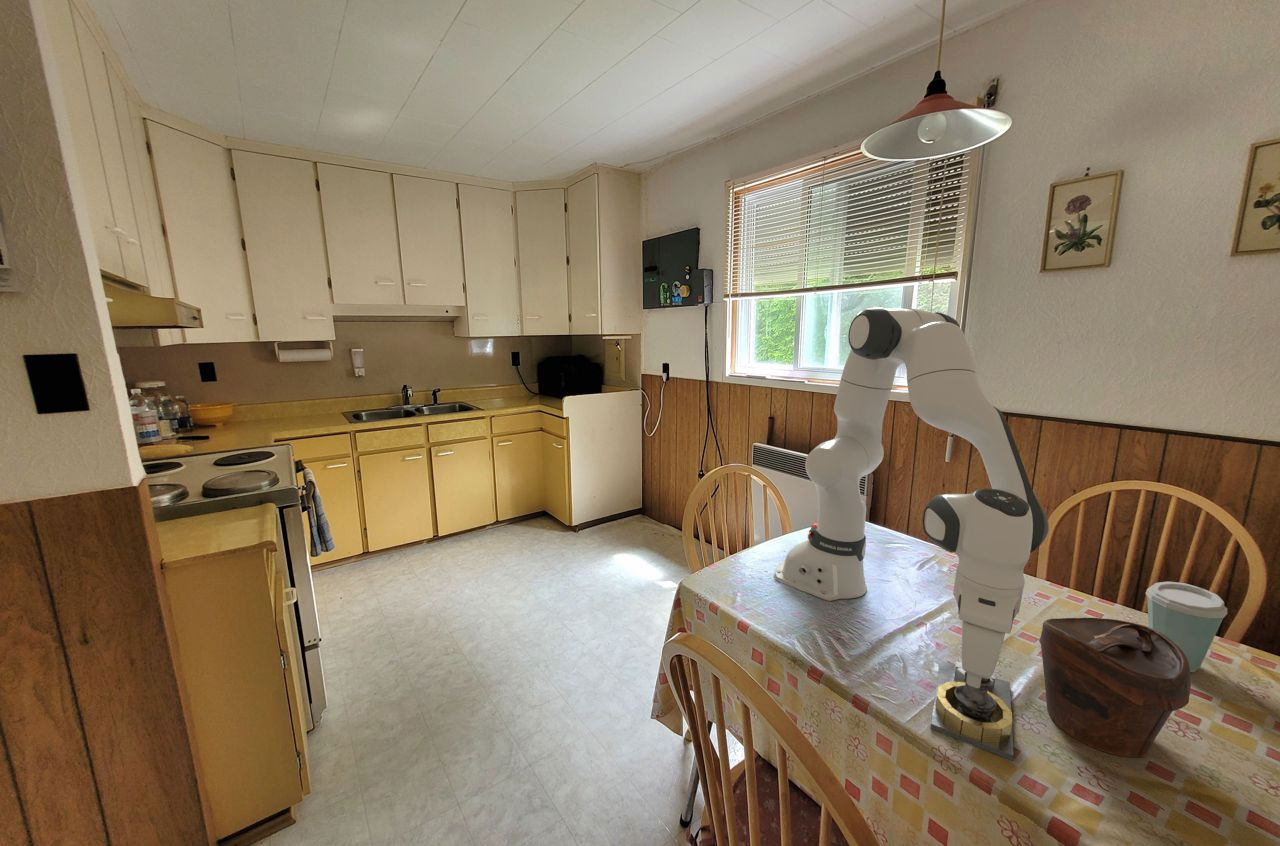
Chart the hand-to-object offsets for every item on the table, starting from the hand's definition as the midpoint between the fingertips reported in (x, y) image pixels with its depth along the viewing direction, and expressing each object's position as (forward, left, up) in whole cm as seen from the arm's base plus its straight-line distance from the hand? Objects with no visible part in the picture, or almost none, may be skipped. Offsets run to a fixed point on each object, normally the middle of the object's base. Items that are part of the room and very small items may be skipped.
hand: (974, 667), depth 82 cm
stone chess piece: (+1, 0, -9) cm, 9 cm away
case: (+18, +11, -10) cm, 23 cm away
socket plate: (+1, +4, -10) cm, 11 cm away
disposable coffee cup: (+33, +40, -10) cm, 53 cm away
